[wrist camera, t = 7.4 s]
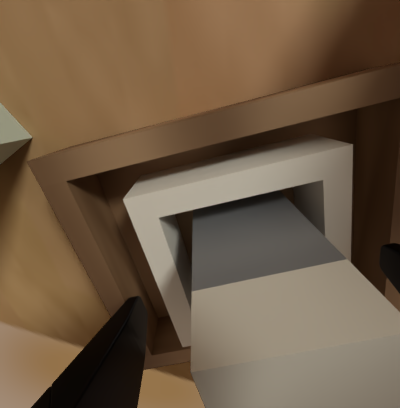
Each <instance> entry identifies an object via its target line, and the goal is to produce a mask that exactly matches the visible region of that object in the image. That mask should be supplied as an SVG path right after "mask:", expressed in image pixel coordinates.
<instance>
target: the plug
mask: <svg viewBox="0 0 400 408" xmlns="http://www.w3.org/2000/svg"><path fill="white" fill-rule="evenodd" d="M191 375H192V377H193V379H194V382H195V384H196V386H197V389H198V391H199V394H200V396H201V399H202V401H203V403H204V406H205V408H400V312H399V311H398V310H397V309H396V308H395V307H394V306H393V305H392V304H391V303H390V302H389V301H388V300H387V299H386V298H385V297H384V296H383V295H382V294H381V293H380V292H379V291H378V290H377V289H376V288H375V287H374V286H373V285H372V284H371V283H370V282H369V281H368V280H367V279H366V278H365V277H364V276H363V275H362V274H361V273H360V272H359V271H358V270H357V269H356V268H355V267H354V266H353V264H352V263H351V262H350V261H349V260H348V259H347V258H346V257H345V256H344V255H343V254H342V253H341V252H340V251H339V250H338V249H337V248H336V247H335V246H334V245H333V244H332V243H331V242H330V241H329V240H328V239H327V238H326V237H325V236H324V235H323V234H322V233H321V232H320V231H319V230H318V229H317V228H316V227H315V226H314V225H313V224H312V223H311V222H310V221H309V220H308V219H307V218H306V217H305V216H304V215H303V214H302V213H301V212H300V211H299V210H298V209H297V208H296V207H295V206H294V205H293V204H292V203H291V202H290V201H289V200H288V199H287V198H286V197H285V196H284V195H283V194H282V193H281V192H280V191H279V190H277V191H272V192H268V193H264V194H259V195H255V196H251V197H246V198H242V199H238V200H233V201H229V202H225V203H220V204H216V205H212V206H207V207H203V208H199V209H194V210H193V231H192V302H191Z"/></svg>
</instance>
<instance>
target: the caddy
mask: <svg viewBox="0 0 400 408" xmlns="http://www.w3.org/2000/svg"><path fill="white" fill-rule="evenodd" d="M309 134H313V135H317V136H321V137H325V138H329V139H333V140H337V141H341V142H345V143H349V144H353V171H352V226H351V263H352V264H353V266H354V267H355V268H356V269H357V270H358V271H359V272H360V273H361V274H362V275H363V276H364V277H365V278H366V279H367V280H368V281H369V282H370V283H371V284H372V285H373V286H374V287H375V288H376V289H377V290H378V291H379V292H380V293H381V294H382V295H383V296H384V297H385V298H386V299H387V300H388V301H389V302H390V303H391V304H392V305H393V306H394V307H395V308H396V309H397V310H398V311H399V312H400V294H399V293H398V291H397V290H396V289H395V287H394V286H393V285H392V283H391V282H390V281H389V279H388V278H387V277H386V275H385V274H384V273H383V272H382V270H381V268H380V265H379V258H380V248H381V246H382V245H385V244H390V243H397V244H400V62H399V63H394V64H390V65H385V66H380V67H375V68H371V69H367V70H363V71H359V72H355V73H351V74H348V75H344V76H340V77H336V78H332V79H328V80H325V81H321V82H317V83H313V84H309V85H305V86H302V87H298V88H294V89H290V90H286V91H282V92H279V93H275V94H271V95H267V96H263V97H259V98H256V99H252V100H248V101H244V102H240V103H236V104H233V105H229V106H225V107H221V108H217V109H213V110H210V111H206V112H202V113H198V114H194V115H190V116H187V117H183V118H179V119H175V120H171V121H167V122H164V123H160V124H156V125H152V126H148V127H144V128H141V129H137V130H133V131H129V132H125V133H121V134H118V135H114V136H110V137H106V138H102V139H98V140H95V141H91V142H87V143H83V144H79V145H75V146H72V147H68V148H65V149H62V150H59V151H56V152H53V153H50V154H47V155H44V156H41V157H38V158H36V159H33V160H30V161H27V163H28V165H29V167H30V169H31V170H32V172H33V174H34V176H35V178H36V180H37V181H38V183H39V185H40V187H41V189H42V191H43V192H44V194H45V196H46V198H47V200H48V202H49V204H50V205H51V207H52V209H53V211H54V213H55V215H56V216H57V218H58V220H59V222H60V224H61V226H62V227H63V229H64V231H65V233H66V235H67V237H68V239H69V240H70V242H71V244H72V246H73V248H74V250H75V251H76V253H77V255H78V257H79V259H80V261H81V262H82V264H83V266H84V268H85V270H86V272H87V274H88V275H89V277H90V279H91V281H92V283H93V285H94V286H95V288H96V290H97V292H98V294H99V296H100V297H101V299H102V301H103V303H104V305H105V307H106V309H107V310H108V312H109V314H110V316H111V317H112V316H113V315H114V314H115V313H116V311H117V310H118V309H119V308H120V307H121V306H122V305H123V303H124V302H125V301H126V300H127V299H128V298H130V297H134V296H140V297H141V299H142V301H143V303H144V305H145V307H146V310H147V313H148V321H147V337H146V353H145V362H144V369H143V370H145V369H151V368H156V367H162V366H167V365H173V364H178V363H184V362H189V361H191V346H187V347H182V345H181V342H180V340H179V337H178V335H177V332H176V330H175V328H174V325H173V323H172V320H171V318H170V315H169V313H168V310H167V308H166V305H165V303H164V300H163V298H162V295H161V293H160V290H159V288H158V285H157V283H156V281H155V278H154V276H153V273H152V271H151V268H150V266H149V263H148V261H147V258H146V256H145V253H144V251H143V248H142V246H141V243H140V241H139V238H138V236H137V233H136V231H135V229H134V226H133V224H132V221H131V219H130V216H129V214H128V211H127V209H126V206H125V204H124V201H123V198H124V197H125V196H126V194H127V193H128V192H129V191H130V189H131V188H132V187H133V185H134V184H135V183H136V181H137V180H138V179H139V177H140V176H142V175H146V174H150V173H154V172H158V171H162V170H166V169H170V168H174V167H178V166H182V165H186V164H190V163H194V162H199V161H203V160H207V159H211V158H215V157H219V156H223V155H227V154H231V153H235V152H239V151H243V150H247V149H251V148H256V147H260V146H264V145H268V144H272V143H276V142H280V141H284V140H288V139H292V138H296V137H300V136H304V135H309ZM279 191H280V192H281V193H282V194H283V195H284V196H285V197H286V198H287V199H288V200H289V201H290V202H291V203H292V204H293V205H294V194H293V187H290V188H285V189H281V190H279ZM294 206H295V205H294ZM175 217H176V220H177V223H178V226H179V229H180V232H181V235H182V239H183V242H184V245H185V248H186V251H187V254H188V258H189V261H190V264H191V267H192V231H193V210H190V211H186V212H181V213H177V214H175Z"/></svg>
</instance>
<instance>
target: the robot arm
mask: <svg viewBox="0 0 400 408" xmlns="http://www.w3.org/2000/svg"><path fill="white" fill-rule="evenodd" d="M379 265H380V268H381V270H382V272H383V273H384V274H385V275H386V277H387V278H388V279H389V281H390V282H391V283H392V285H393V286H394V287H395V289H396V290H397V291H398V293H399V294H400V244H397V243H390V244H385V245H382V246H381V248H380V258H379ZM147 321H148V313H147V310H146V307H145V305H144V303H143V301H142V299H141V297H140V296H134V297H130V298H128V299H127V300H126V301H125V302H124V303H123V305H122V306H121V307H120V308H119V309H118V310H117V311H116V313H115V314H114V315H113V316H112V317H111V318H110V319H109V320H108V322H107V323H106V324H105V325H104V326H103V327H102V328H101V329H100V331H99V332H98V333H97V334H96V335H95V336H94V337H93V338H92V340H91V341H90V342H89V343H88V344H87V345H86V346H85V348H84V349H83V350H82V351H81V352H80V353H79V354H78V355H77V357H76V358H75V359H74V360H73V361H72V362H71V363H70V365H69V366H68V367H67V368H66V369H65V370H64V371H63V372H62V374H61V375H60V376H59V377H58V378H57V379H56V380H55V381H54V382H53V384H52V387H49V388H48V389H47V390H46V391H45V393H44V394H43V395H42V396H41V397H40V398H39V399H38V400H37V402H36V403H35V404H34V405H33V406H32V407H31V408H137V405H138V399H139V393H140V387H141V381H142V374H143V369H144V362H145V353H146V337H147Z"/></svg>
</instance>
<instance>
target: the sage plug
mask: <svg viewBox="0 0 400 408" xmlns="http://www.w3.org/2000/svg"><path fill="white" fill-rule="evenodd" d="M31 138H32V136H31V135H30V134H29V133H28V132H27V131H26V130H25V129H24V128H23V127H22V126H21V125H20V123H19V122H18V121H17V120H16V119H15V118H14V117H13V116H12V115H11V114H10V113H9V112H8V111H7V109H6V108H5V107H4V106H3V105H2V104H1V103H0V164H1V163H3V162H4V161H5V160H6V159H7V158H9V157H10V156H11V155H12V154H13V153H15V152H16V151H17V150H18V149H19V148H21V147H22V146H23V145H24V144H25V143H27V142H28V141H29V140H30V139H31Z"/></svg>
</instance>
